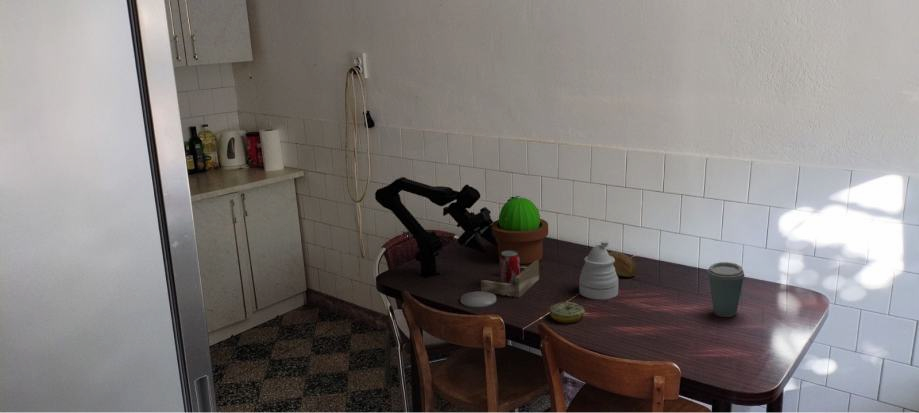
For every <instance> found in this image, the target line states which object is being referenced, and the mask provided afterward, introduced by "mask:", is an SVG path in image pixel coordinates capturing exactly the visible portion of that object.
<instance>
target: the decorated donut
mask: <svg viewBox="0 0 919 413" xmlns="http://www.w3.org/2000/svg"><path fill="white" fill-rule="evenodd" d="M548 311H549V315H550V317H551V319H552V320H553V321H556V322H559V323H564V324H571V323H574V322H575V323H577V322H579V321H580V320H581V319H582V318H583V316H584V315H585V314H586V310H585V309H584V307H583V306H582V305H581V304H578V303H576V302H572V301H564V302H563V301H562V302H558V303H554V304H553V305H551V306H550V307H549V310H548Z"/></svg>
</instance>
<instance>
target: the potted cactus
mask: <svg viewBox="0 0 919 413" xmlns="http://www.w3.org/2000/svg"><path fill="white" fill-rule="evenodd" d="M541 217H542V216H541V215H540V211H539V209H538V206H536V205H535V202H533V201H531V200H530V199H529V198H527V197H523V196H520V195H515V196H511V197H509V199H507V201H506V202H505V203H504V204H503V205H502V207H500V212H499V215H498V219H497V220H495V221H493V223H492V224H493V226H492V232H493V234H494V236H495V238H496V240H497V243H498V245H497V257H498V259H499V260H500V256H501V253H502V252H503V251H509V250H511V251H516V252H517V253H518V256H519V258H520V265H527V264H529V265H531V264H532V263H533V262H534V261H535V260H538V261H539V262H540V261H541V260H542V259H543V257H544V256H543V255H544V254H543V252H544V251H543V248H544V247H543V246H544V245H543V239H545V238H546V237H548V235H549V223H548V221H546V220H545V219H543V218H541Z"/></svg>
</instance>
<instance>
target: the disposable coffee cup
mask: <svg viewBox="0 0 919 413" xmlns="http://www.w3.org/2000/svg"><path fill="white" fill-rule="evenodd" d="M706 273H707V276H708V279H709V280H708V281H709V286H710V287H709V288H710V294H711V303H712V310H713V312H714V315H716V316H718V317H723V318H729V317H730V318H732V317H734V316H735V315H736V313H738V307H739V301H740V297H741V290H742V287H743V282H744V277H745V272H744V269H743V267H742V266H741V265H739V264H737V263H734V262H729V261H727V262H726V261H724V262H723V261H720V262H715V263H713V264H711V265H710V266H709V268H708V269H707V272H706Z"/></svg>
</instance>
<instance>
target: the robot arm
mask: <svg viewBox="0 0 919 413" xmlns="http://www.w3.org/2000/svg"><path fill="white" fill-rule="evenodd" d="M402 191H404V192H407V193H410V194H413V195H416V196H419V197H423V198H426V199H428V200H429V201H430V202H431V203H433V204H434V205H437V206H439V207H443V208H442V210H443V211H442V216H444V217H445V216H447V215H450V217H451V218H452V219H453V220H454V221H455V223H456V225H455V226H456V227H457V228H461V229H462V230H463V231H464V232H462V234H461V235H460V236H459V237H458V238H457V243H458V245H460V247H464V248H469V249H472V250H474V251H477V252H479V253H481V254H483V255H486V254H487V253H488V251H487V249H486V248H485V247H484V245H483V244H482V243H481V241H480V240H479V236H480V237H481V238H482V239H484V240H485V241H487V242H488V243H490V244H492V245H493V246H495V247H498V240H497V239H496V238H495V236H494V234H493V232H492V226H493V224H492V223H493V222H494V220H493V219H492V217H491V210H489V208H487V207H486V206H484V207H482V208H479V212H478V213H475V212H473V211H471V212H469V210H470V209H471V208H472V207H473V206H474V205H475V204H476V203H477V202H478V200H480V198H481V194H480V191H479V190H478V189H476V188H475V187H473V186H470V185H469V184H468V183H467V184H464V186H463V187H462V188H461V190H460V191H459V190H454V189H453V188H452V187H449V186H442V185H441V186H438V185H437V186H433V185H429V184H426V183H422V182H419V181H416V180H413V179H409V178H407V177H406V176H405V177H404V176H400V177H399V178H397V179H395V180H394V181H392V182H391V183H389V184H388V185H385V186H384V187H381V188H378V189H377V190H376V191H375V193H374V199H375V201H376V202H377V203H379V205H381V206H382V207H383V208H385V209H387V210H389V211H390V212H392V213H393V214H394V216H395V217H396V218H397V219H398V221H399V222H400V223H401V224H402V225H403V227H405V228H406V230H407V231H408V232H409V233H410V234H411V235H412V236H413V238H414V239H415V241H416V245H417V246H416V247H417V248H418V250H419V251H418V252H416V254H414V257H415V260H416V262H419V267H420V268H419V270H418V271H417V272H416V274H417V275H420V276H422V277H424V278H430V277H432V276H436V275H440V274H441V272H440V271H438V270H437V260H436V259H437V258H436V257H438V256H439V254H440V252H441V251H442V249H443V243H442V242H443V241H441V239H442V238H441V237H440V236H438V235H437V233H436V232H435V231H434V230H432V231H431V232H429V231H427V230H426V229H425V228H424V227H423V226H422V225H421V223H420V222H419V221H418V220H417V218H415V217H414V215H413V214H412V213H411V212H410V211H409V209H407V207H406V206H405V205H404V204H403V202H402V200H401V196H400V192H402ZM455 200H456V201H455ZM448 204H449V205H448ZM446 205H447V206H446ZM444 206H445V207H444ZM468 209H469V210H468ZM478 234H479V236H478Z"/></svg>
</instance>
